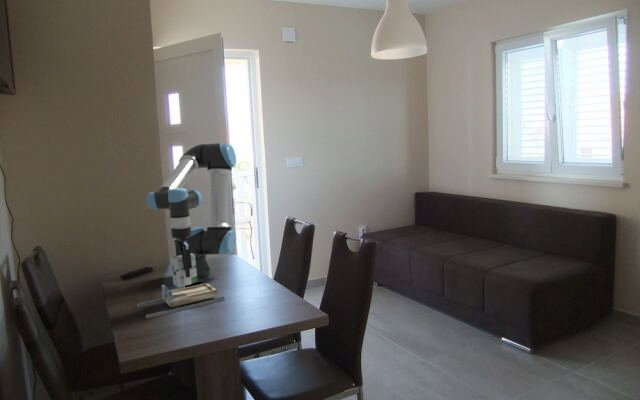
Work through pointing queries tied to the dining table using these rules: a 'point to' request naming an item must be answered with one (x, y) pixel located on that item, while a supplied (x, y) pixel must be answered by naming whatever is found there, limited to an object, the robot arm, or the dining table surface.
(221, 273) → the dining table surface
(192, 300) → the wooden tray
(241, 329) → the dining table surface
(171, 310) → the track
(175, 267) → the ink box
